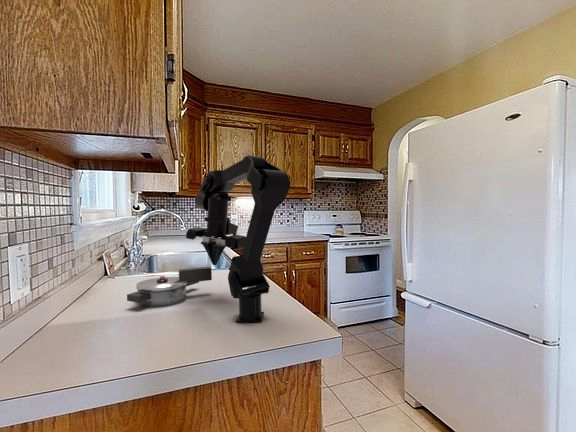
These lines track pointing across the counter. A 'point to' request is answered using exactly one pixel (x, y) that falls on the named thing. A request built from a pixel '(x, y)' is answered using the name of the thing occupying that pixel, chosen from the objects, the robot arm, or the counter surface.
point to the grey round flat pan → (159, 297)
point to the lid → (176, 279)
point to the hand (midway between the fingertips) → (214, 264)
